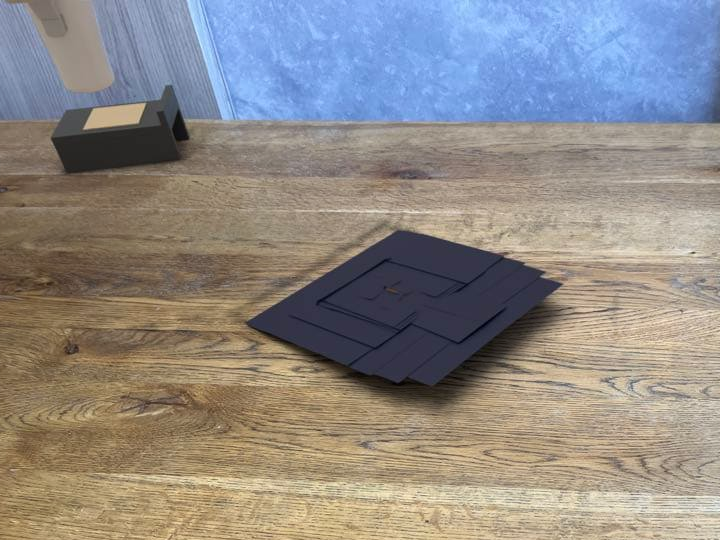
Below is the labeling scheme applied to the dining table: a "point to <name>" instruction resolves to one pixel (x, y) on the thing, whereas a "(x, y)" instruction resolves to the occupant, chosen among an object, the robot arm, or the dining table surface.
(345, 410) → the dining table surface
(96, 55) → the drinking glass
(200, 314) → the dining table surface
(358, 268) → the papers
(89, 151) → the dark box with label
